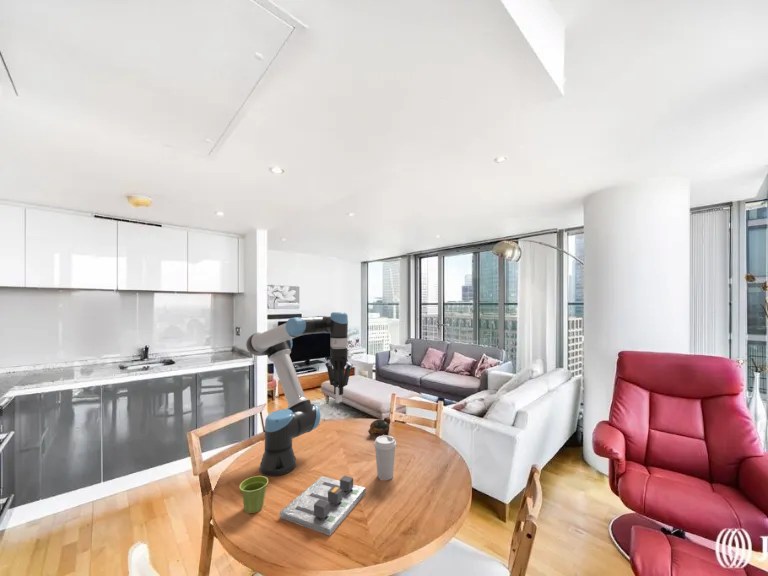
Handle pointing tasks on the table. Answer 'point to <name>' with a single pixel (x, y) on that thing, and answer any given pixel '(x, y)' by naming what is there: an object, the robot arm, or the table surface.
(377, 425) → the decorative turtle
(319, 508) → the block
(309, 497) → the panel
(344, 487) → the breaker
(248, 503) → the plant pot
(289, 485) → the table surface
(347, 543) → the table surface
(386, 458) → the coffee cup
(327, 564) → the table surface
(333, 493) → the breaker
